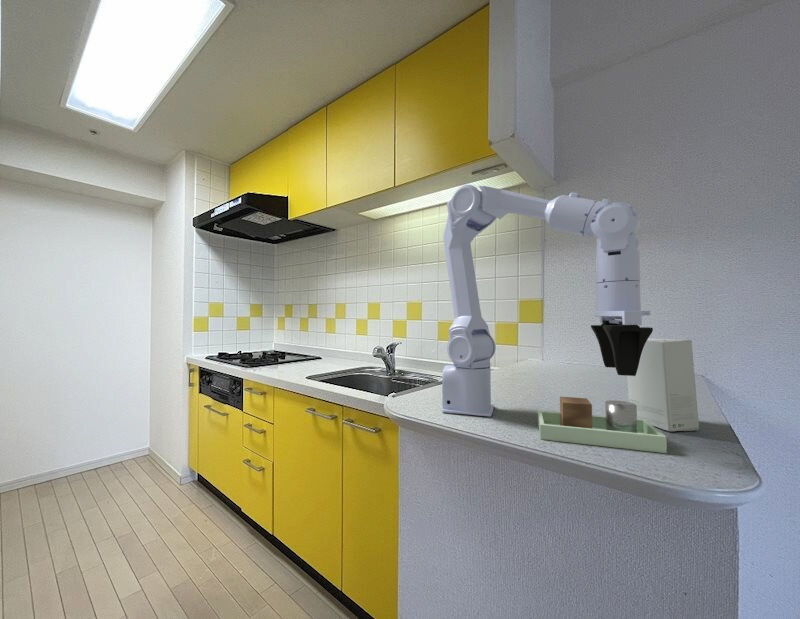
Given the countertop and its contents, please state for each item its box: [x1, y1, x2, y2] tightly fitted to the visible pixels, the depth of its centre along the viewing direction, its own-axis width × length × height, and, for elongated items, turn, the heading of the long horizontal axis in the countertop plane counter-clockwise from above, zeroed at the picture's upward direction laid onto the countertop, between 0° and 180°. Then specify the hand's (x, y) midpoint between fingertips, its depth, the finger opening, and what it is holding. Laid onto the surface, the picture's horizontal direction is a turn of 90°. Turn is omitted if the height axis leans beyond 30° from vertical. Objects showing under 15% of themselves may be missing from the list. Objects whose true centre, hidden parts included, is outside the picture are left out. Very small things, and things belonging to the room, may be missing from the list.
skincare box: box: [626, 337, 700, 432], centre depth 58 cm, size 8×6×15 cm
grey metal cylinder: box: [604, 399, 637, 433], centre depth 51 cm, size 4×4×5 cm
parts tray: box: [537, 410, 668, 454], centre depth 52 cm, size 16×8×2 cm, turn 70°
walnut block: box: [559, 396, 593, 429], centre depth 53 cm, size 4×4×5 cm
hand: (619, 371), depth 51 cm, fingers open, 7 cm apart
